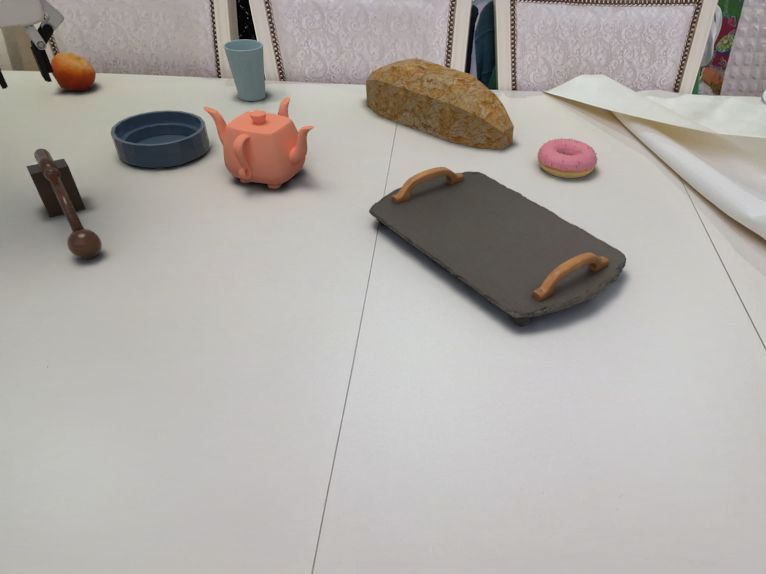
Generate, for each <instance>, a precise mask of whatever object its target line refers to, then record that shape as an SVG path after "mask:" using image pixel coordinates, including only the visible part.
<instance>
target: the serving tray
mask: <svg viewBox="0 0 766 574" xmlns="http://www.w3.org/2000/svg"><path fill="white" fill-rule="evenodd" d="M368 213H369V214H370V215H371V216H372V217H373V218H375V219H376V222H377V223H378V224H379V225H380V226H386V228H388V229H390V230H391V231H393V232H394V233H395V234H397V235H398V236H400V237H401V238H402V239H403V240H404V241H407V242H408V243H410V244H411V245H412V246H413V247H415V248H416V249H417V250H418V251H419V252H421V253H423V254H424V255H426V256H428V257H429V258H430V259H431V261H434V262H435V263H437V264H438V265H439V266H440V267H441V268H444V269H445V270H446V271H448V272H449V273H450V274H451V275H453V276H454V277H455V278H457V279H459V281H461V282H463V283H464V284H465V285H467V286H469V288H471V289H473V291H475V292H476V293H478V294H479V295H481V297H484V298H485V299H486V300H488V301H489V302H490V303H492V305H494V306H496V307H497V308H499V309H500V310H501V311H502V312H504V313H505V314H507V315H508V316H510V317H512V318H513V321H514V322H515V325H516V326H518V327H524V326H526V325H527V324H528V323H529V322H530V320H531V318H532V317H540V316H544V315H547V314H552V313H556V312H560V311H565V310H567V309H569V308H570V307H574V306H576V305H579V304H581V303H584V302H587V301H589V300H591V299H594V298H596V297H597V296H598V295H599V294H600V293H602V292H604V291H606V289H607V288H608V287H609V286H610V285H611V284H613V283H614V282H615V281H617V279H618V278H619V277H620V274H621V273H622V272H623V269H624V268H625V267H626V265H627V257H626V254H625V253H624V252H622V251H621V250H619V249H618V248H616V247H614V246H612V245H610V244H609V243H607V242H606V241H604V240H601V239H600V238H598V237H596V236H595V235H593V234H591V233H590V232H588V231H587V230H586V229H583V228H581V227H579V226H578V225H576V224H574V223H571V222H569V221H567V220H565V219H564V218H562V217H560V216H559V214H556V213H555V212H554V211H552V210H549V209H548V208H546V206H545V207H544V206H542V205H540V204H538V203H537V202H535V201H533V200H531V199H530V198H528V197H526V196H524V195H523V194H522V193H520V192H519V191H515V190H514V189H511V187H507V186H506V185H504V184H502V183H500V182H499V181H497V180H496V179H494V178H492V177H490V176H488V175H487V174H485V173H482V172H480V171H472V170H471V171H464V172H463V171H462V172H454V171H453V170H451V169H450V168H448V167H445V166H437V167H433V168H429V169H425V170H423V171H421V172H418V173H416V174H414V175H413V176H411V177H409V178H408V179H407V180H406V181H405V182H404V183H403V184H402V185H401V187H398V188H395V189H394V190H392V191H391V192H389V193H388V194H386V195H384V196H383V197H382V198H380V200H378V201H377V202H375V203H373V204H372V206H371V207H370V208H369V210H368Z"/></svg>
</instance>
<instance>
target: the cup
mask: <svg viewBox="0 0 766 574" xmlns="http://www.w3.org/2000/svg"><path fill="white" fill-rule="evenodd" d="M223 49H224V52H225V56H226V58H227V59H226V60H227V62H228V65H229V68H230V72H231V75H232V78H233V82H234V85H235V88H236V92H237V95H238V97H239V99H240V100H242V101H245V102H257V101H261V100H264V99H265V98H266V96H267V95H266V94H267V93H266V79H265V78H266V77H265V76H266V75H265V60H264V44H263V43H262V42H261V41H259V40H256V39H246V38H245V39H242V38H241V39H234V40H230V41H227V42H225V43H224V44H223Z"/></svg>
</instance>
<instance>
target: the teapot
mask: <svg viewBox="0 0 766 574" xmlns="http://www.w3.org/2000/svg"><path fill="white" fill-rule="evenodd" d="M290 101H291V98H290V97H285V98H283V99H282V100H281V101H280V104H279V107H278V112H277V114H276V113H271V112H266V111H264V110H261V109H257V110H252V111H246V112H244V113H242V114H240V115H238V116H237V117H235V118H234V119H232V120H231V121H229V122H228V123H227V122H226V121H225V118H224V117H223V115H222V114H221V113H220V112H219V111H218V110H216V109H215V108H213V107H209V106H203V110H204V111H205V112H206V113H207V114H209V115H210V117H211V118H212V120H213V121H214V124H215V127H216V130H217V135H218V139H219V141H220V143H221V144H222V151H223V152H222V153H223V161H224V165H225V168H226V169H227V170H228V172H229V173H230V174H231V175H232V176H233V177H236V178H238V179H239V181H240V183H243V184H245V183H246V184H247V183H252V182H253V183H256V184H257V183H258V184H267V187H268V188H269V189H279V188H281V187H282V184H284V183H286V182H288V181H289V180H291V179H292V178H293V177H294V176H295V175H297V174H298V173H300V171H301V170H302V169H303V167H304V164H305V162H306V156H307V154H308V134H309V132H310V131H312V130H313V129H314V128H315V126H313V125H304V126H301V127H300V128H299V130H298V129H297V127H296V125H295V122H294V121H293V119H292V118H290V116H289V104H290Z"/></svg>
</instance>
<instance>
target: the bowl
mask: <svg viewBox="0 0 766 574" xmlns="http://www.w3.org/2000/svg"><path fill="white" fill-rule="evenodd" d="M110 136H111V139H112V142H113V144H114V147H115V148H114V149H115V150H116V153H117V156H118V157H119V159H120V160H121V161H122V162H124V163H127V164H128V165H133V166H136V167H143V168H155V169H157V168H159V169H160V168H171V167H176V166H180V165H184V164H187V163H190V162H192V161H194V160H197V159H198V158H200V157H202V156H203V155H205V154H206V153H207V152H208V150H209V149H210V144H211V143H210V138H209V134H208V130H207V126H206V122H205V121H204V119H203V118H202V117H201V116H199V115H197V114H195V113H193V112H187V111H182V110H170V109H168V110H153V111H148V112H142V113H141V112H140V113H137V114H134V115H131V116H128V117H125V118H123V119H120V120H119V121H117V122H116V123H115V124H114V125H113V126H111V129H110Z"/></svg>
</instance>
